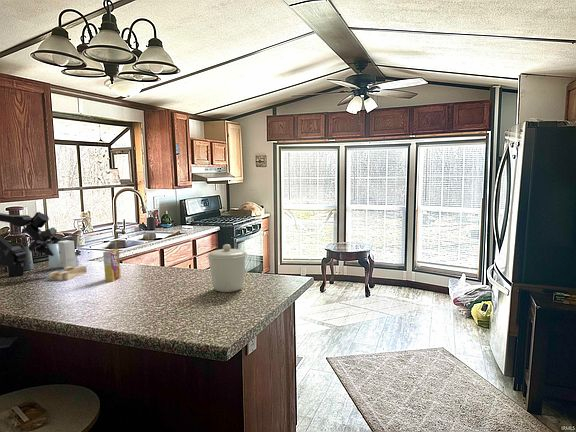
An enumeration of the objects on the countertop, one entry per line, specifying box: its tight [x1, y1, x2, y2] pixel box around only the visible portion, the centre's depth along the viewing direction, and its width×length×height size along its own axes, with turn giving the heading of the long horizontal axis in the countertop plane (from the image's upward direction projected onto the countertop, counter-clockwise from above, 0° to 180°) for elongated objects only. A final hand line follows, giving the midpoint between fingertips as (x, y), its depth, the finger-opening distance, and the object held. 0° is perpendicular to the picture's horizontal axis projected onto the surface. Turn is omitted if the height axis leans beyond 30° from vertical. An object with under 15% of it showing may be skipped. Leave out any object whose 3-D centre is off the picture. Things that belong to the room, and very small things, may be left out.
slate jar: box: [47, 244, 60, 269], centre depth 214 cm, size 5×5×12 cm
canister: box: [206, 243, 248, 293], centre depth 184 cm, size 18×18×21 cm
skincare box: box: [57, 239, 77, 269], centre depth 236 cm, size 8×7×16 cm
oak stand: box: [49, 265, 88, 281], centre depth 214 cm, size 10×16×4 cm, turn 174°
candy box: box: [102, 248, 122, 283], centre depth 205 cm, size 9×4×15 cm, turn 177°
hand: (56, 254), depth 214 cm, fingers closed on slate jar, 5 cm apart
